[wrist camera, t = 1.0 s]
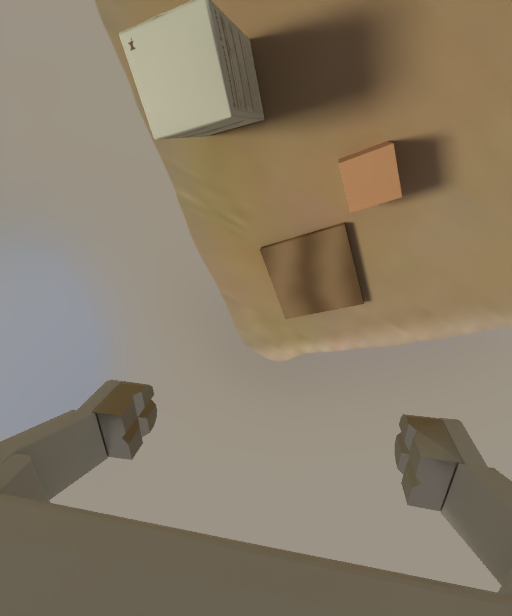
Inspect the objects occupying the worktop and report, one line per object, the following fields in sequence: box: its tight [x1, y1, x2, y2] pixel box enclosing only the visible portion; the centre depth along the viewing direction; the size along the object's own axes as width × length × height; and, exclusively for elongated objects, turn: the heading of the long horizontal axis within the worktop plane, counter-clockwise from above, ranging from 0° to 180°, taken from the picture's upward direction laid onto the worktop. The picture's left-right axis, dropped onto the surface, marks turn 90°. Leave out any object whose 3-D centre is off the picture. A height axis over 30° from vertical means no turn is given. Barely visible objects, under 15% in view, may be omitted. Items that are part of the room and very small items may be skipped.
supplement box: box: [119, 0, 264, 140], centre depth 28 cm, size 7×7×13 cm
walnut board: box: [260, 223, 364, 319], centre depth 41 cm, size 11×11×1 cm
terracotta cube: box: [339, 141, 402, 213], centre depth 32 cm, size 5×5×5 cm
